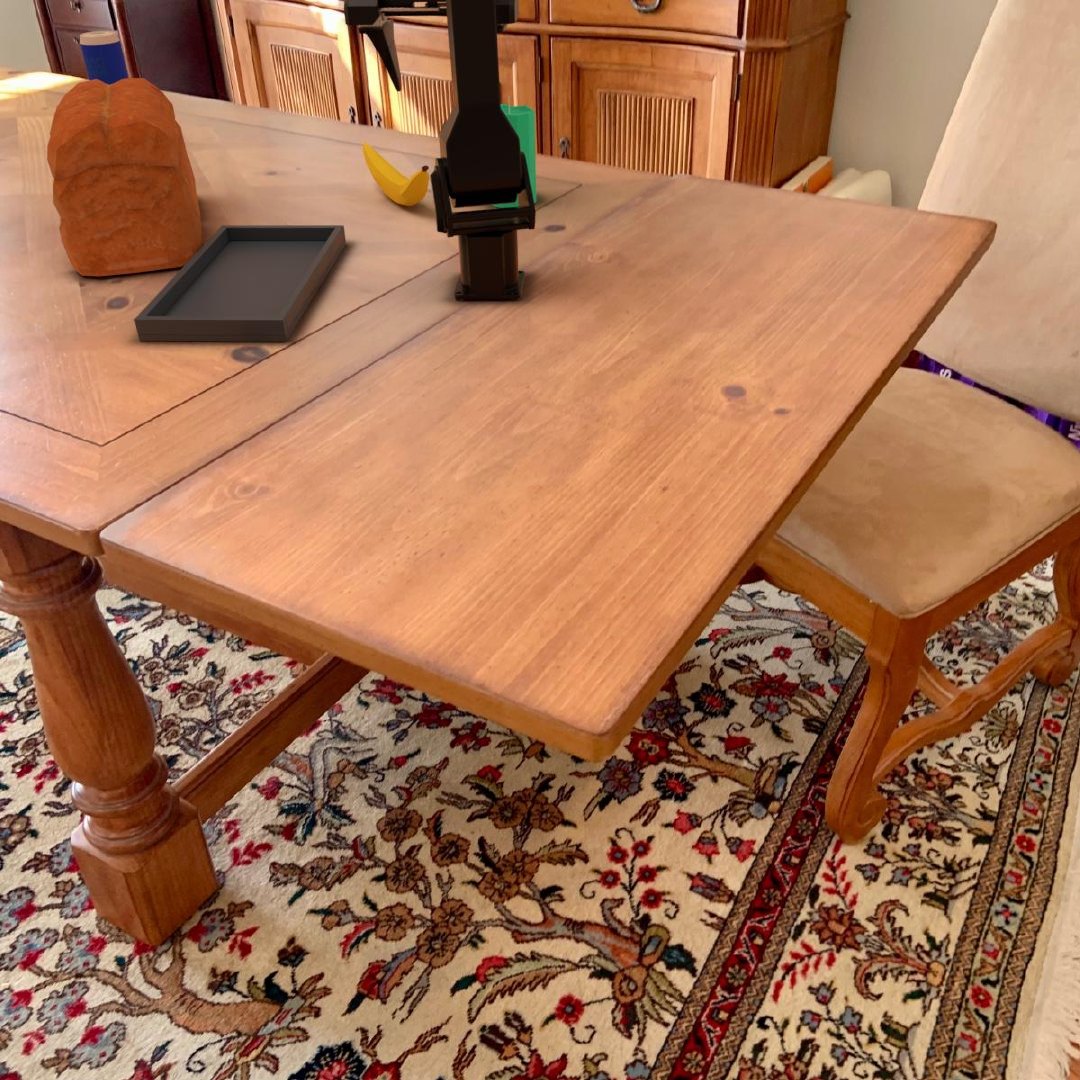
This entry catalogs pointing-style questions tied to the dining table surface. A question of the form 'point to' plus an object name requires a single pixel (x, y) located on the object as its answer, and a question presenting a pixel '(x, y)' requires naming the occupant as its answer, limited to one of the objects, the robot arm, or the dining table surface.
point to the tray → (244, 285)
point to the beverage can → (103, 56)
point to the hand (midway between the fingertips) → (438, 90)
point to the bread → (122, 180)
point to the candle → (523, 140)
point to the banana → (396, 179)
